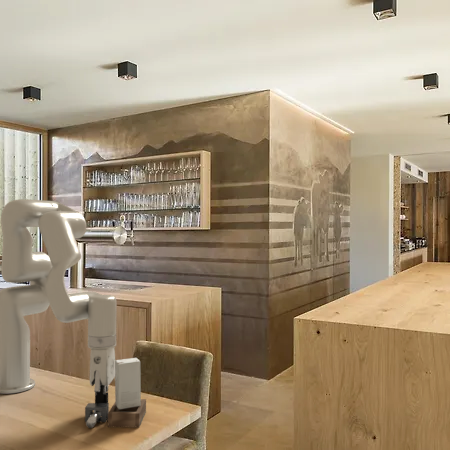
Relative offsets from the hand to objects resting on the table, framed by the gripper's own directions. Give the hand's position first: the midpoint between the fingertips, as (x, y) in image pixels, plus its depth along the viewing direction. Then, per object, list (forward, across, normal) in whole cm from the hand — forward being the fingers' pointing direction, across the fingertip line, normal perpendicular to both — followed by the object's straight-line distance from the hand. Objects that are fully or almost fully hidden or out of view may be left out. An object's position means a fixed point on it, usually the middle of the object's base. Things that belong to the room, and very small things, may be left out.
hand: (101, 407), depth 130 cm
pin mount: (+1, -5, 0) cm, 5 cm away
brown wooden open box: (+1, -4, -8) cm, 9 cm away
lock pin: (+1, -6, 0) cm, 6 cm away
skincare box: (-2, -4, -8) cm, 9 cm away
